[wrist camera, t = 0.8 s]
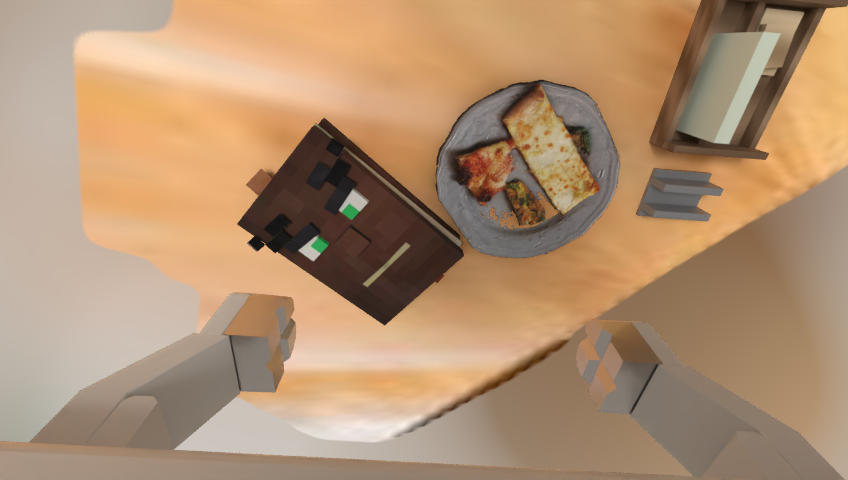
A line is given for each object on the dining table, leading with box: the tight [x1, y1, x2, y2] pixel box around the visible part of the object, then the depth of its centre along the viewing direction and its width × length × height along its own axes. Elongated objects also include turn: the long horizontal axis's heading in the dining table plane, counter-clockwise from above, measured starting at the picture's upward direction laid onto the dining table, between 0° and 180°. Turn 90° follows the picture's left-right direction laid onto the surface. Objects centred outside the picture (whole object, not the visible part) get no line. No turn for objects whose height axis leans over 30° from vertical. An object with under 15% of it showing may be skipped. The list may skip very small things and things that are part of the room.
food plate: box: [436, 80, 620, 258], centre depth 51 cm, size 25×23×4 cm
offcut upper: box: [757, 22, 798, 68], centre depth 42 cm, size 4×3×1 cm
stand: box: [636, 168, 723, 221], centre depth 52 cm, size 7×8×4 cm
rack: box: [650, 0, 848, 160], centre depth 44 cm, size 17×12×5 cm
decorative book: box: [237, 118, 464, 325], centre depth 52 cm, size 19×8×30 cm
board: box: [676, 32, 781, 144], centre depth 42 cm, size 11×2×7 cm, turn 175°
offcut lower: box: [754, 8, 805, 76], centre depth 43 cm, size 6×4×1 cm
